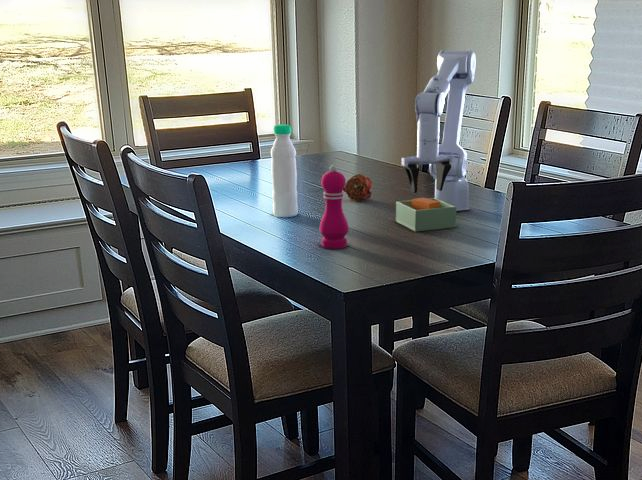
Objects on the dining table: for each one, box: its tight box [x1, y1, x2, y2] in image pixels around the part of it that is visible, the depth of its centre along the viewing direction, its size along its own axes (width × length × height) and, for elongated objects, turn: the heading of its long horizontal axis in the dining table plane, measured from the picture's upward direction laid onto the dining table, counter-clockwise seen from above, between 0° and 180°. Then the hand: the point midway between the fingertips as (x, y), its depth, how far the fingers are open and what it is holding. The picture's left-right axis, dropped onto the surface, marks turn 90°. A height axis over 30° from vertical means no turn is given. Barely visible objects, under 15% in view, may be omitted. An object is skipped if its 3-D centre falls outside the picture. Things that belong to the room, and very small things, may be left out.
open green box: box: [395, 197, 457, 232], centre depth 232 cm, size 12×12×6 cm
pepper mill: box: [319, 164, 350, 250], centre depth 209 cm, size 7×7×20 cm
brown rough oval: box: [342, 173, 373, 202], centre depth 261 cm, size 8×8×12 cm
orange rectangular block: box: [411, 197, 440, 210], centre depth 232 cm, size 4×7×6 cm, turn 38°
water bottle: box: [270, 123, 299, 218], centre depth 238 cm, size 7×7×25 cm
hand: (426, 191), depth 230 cm, fingers open, 7 cm apart
